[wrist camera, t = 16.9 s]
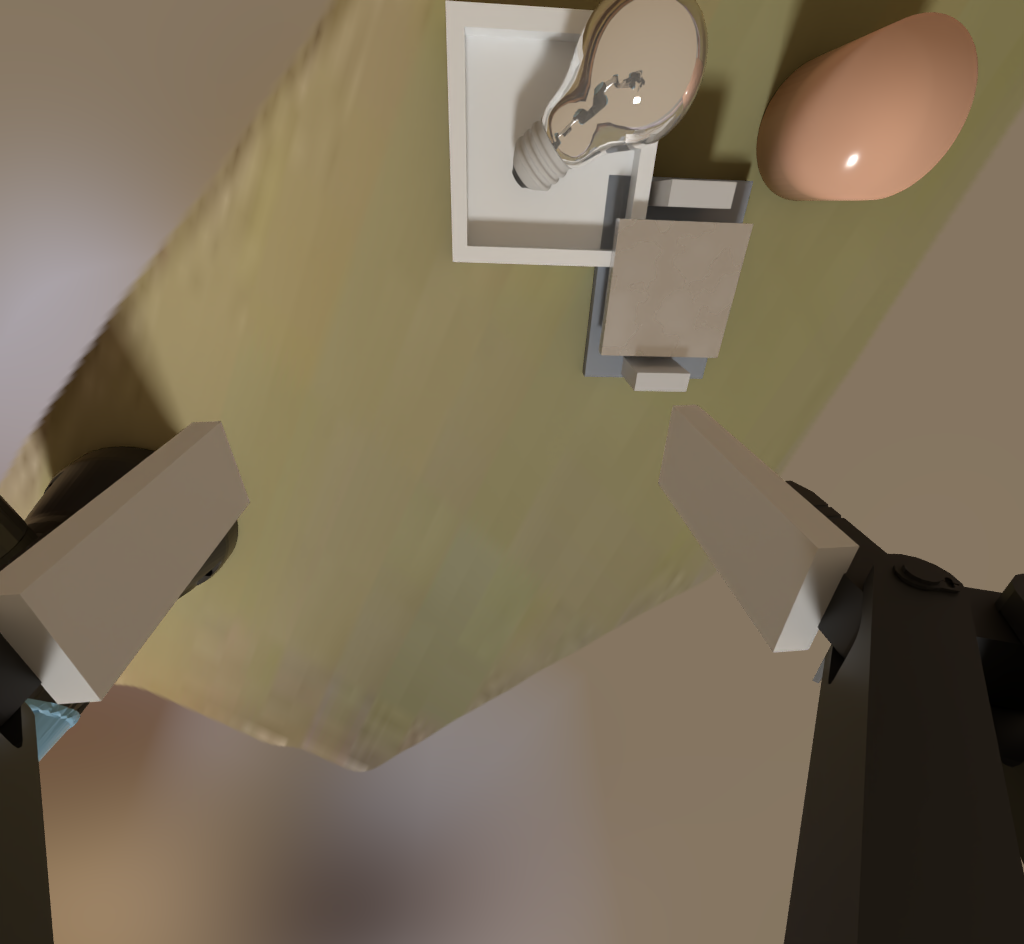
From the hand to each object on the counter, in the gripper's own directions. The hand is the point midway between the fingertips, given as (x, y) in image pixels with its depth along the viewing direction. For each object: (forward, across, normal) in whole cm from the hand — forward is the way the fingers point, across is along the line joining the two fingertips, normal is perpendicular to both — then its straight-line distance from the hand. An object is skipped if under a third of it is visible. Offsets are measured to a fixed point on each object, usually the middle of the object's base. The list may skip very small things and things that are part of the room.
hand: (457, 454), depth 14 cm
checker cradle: (+24, +15, +1) cm, 29 cm away
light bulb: (+22, +4, +8) cm, 24 cm away
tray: (+25, +6, +9) cm, 27 cm away
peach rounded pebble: (+24, +24, +11) cm, 36 cm away
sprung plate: (+22, +15, +1) cm, 26 cm away
